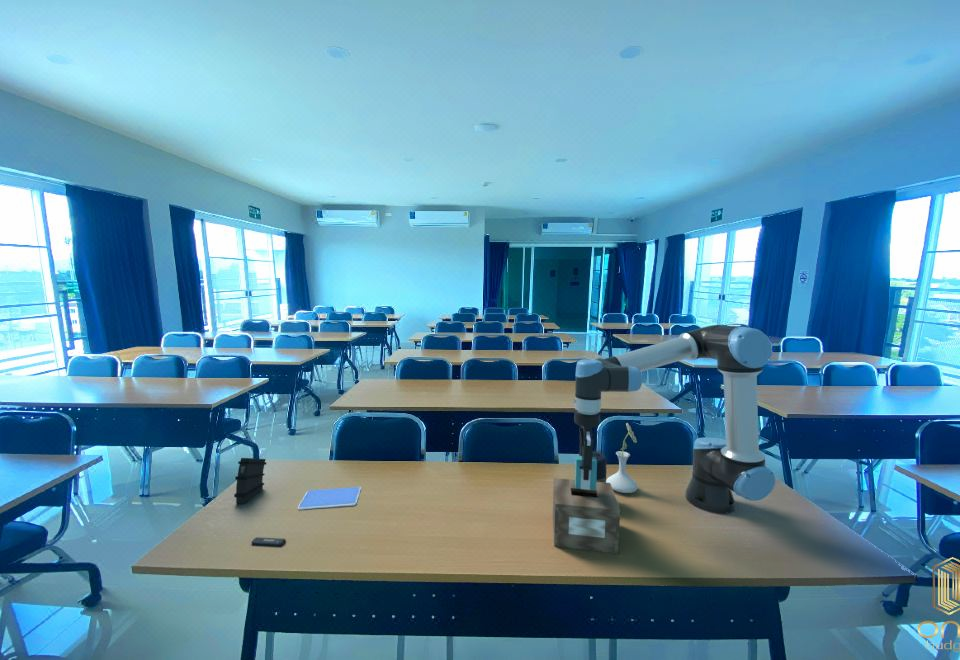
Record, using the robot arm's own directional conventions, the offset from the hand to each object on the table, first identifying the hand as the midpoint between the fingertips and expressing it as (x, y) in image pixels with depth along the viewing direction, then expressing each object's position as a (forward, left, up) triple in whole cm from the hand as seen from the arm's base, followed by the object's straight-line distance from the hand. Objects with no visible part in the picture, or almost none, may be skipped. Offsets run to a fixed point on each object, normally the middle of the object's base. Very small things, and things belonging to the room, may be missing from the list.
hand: (584, 485), depth 115 cm
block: (0, 0, 0) cm, 0 cm away
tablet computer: (+87, -4, -16) cm, 89 cm away
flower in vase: (-18, -32, -15) cm, 40 cm away
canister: (-5, -20, -15) cm, 26 cm away
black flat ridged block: (+117, -1, -16) cm, 118 cm away
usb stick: (+91, +22, -16) cm, 95 cm away
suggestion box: (0, 0, -15) cm, 15 cm away
